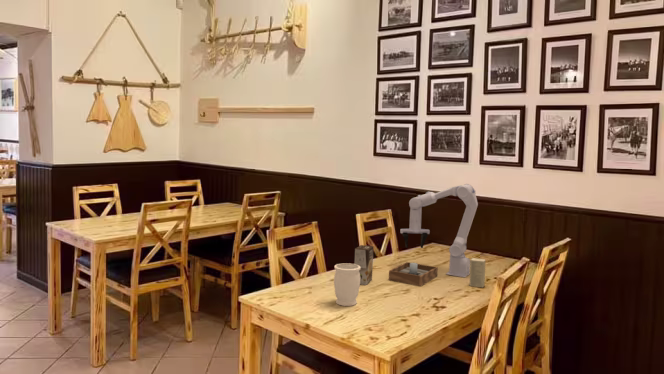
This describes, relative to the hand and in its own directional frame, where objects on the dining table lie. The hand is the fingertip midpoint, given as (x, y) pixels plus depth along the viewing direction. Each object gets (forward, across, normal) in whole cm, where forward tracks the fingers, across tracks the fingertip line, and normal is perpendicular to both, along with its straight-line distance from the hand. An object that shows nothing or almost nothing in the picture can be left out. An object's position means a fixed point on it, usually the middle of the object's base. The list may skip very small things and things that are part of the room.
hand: (414, 247), depth 270 cm
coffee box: (+11, -28, -26) cm, 40 cm away
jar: (+11, -38, -56) cm, 69 cm away
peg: (+10, -4, -19) cm, 22 cm away
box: (+10, -4, -19) cm, 22 cm away
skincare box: (+11, +23, -30) cm, 39 cm away
